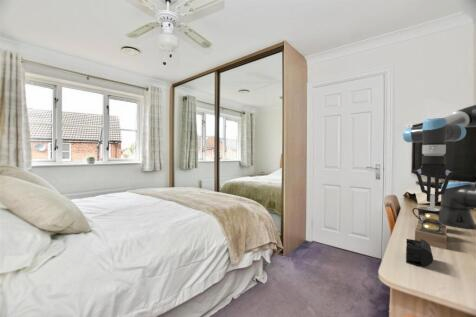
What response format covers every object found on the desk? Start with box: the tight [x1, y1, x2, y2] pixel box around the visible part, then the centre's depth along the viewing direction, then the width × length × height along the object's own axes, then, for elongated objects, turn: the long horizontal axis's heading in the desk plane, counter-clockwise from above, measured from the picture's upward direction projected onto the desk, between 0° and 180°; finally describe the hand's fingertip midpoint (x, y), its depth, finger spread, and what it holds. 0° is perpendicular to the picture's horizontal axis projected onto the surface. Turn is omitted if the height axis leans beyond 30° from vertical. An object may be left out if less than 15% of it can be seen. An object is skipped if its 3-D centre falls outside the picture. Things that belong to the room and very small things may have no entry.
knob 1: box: [425, 213, 439, 222], centre depth 104 cm, size 5×5×2 cm
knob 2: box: [423, 224, 439, 232], centre depth 96 cm, size 5×5×2 cm
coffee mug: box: [412, 206, 440, 222], centre depth 117 cm, size 12×9×10 cm
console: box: [414, 219, 448, 250], centre depth 100 cm, size 20×10×6 cm, turn 138°
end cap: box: [405, 238, 434, 268], centre depth 80 cm, size 10×7×7 cm
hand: (432, 209), depth 96 cm, fingers closed
